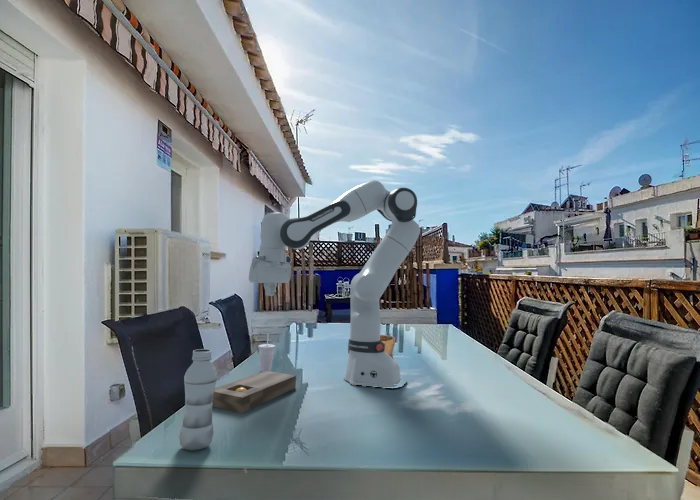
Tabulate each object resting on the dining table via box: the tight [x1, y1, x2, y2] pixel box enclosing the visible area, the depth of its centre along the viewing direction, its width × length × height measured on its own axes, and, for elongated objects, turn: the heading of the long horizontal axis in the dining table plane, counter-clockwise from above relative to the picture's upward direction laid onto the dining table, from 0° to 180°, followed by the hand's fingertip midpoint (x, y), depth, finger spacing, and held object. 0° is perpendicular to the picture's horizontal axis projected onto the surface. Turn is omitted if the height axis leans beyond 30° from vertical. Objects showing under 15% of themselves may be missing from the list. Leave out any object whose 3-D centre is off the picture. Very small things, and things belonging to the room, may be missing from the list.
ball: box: [236, 387, 247, 392], centre depth 108 cm, size 4×4×4 cm
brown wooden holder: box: [212, 370, 297, 414], centre depth 113 cm, size 12×26×4 cm, turn 155°
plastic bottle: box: [178, 348, 218, 451], centre depth 79 cm, size 6×7×20 cm
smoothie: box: [257, 333, 276, 373], centre depth 143 cm, size 6×6×14 cm
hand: (269, 295), depth 134 cm, fingers closed
